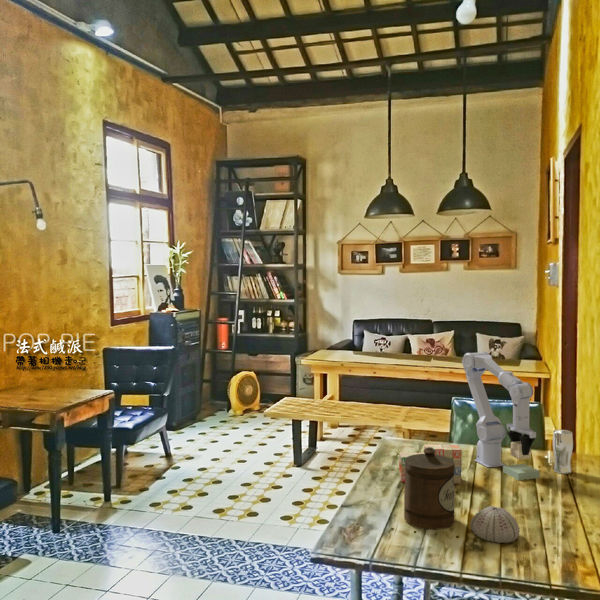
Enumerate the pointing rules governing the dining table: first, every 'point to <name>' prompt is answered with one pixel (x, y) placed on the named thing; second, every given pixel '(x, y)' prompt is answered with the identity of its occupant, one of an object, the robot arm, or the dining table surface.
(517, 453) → the ash cube
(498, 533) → the sea urchin shell
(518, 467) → the green slab
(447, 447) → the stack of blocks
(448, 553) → the dining table surface
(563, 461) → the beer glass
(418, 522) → the wooden container
